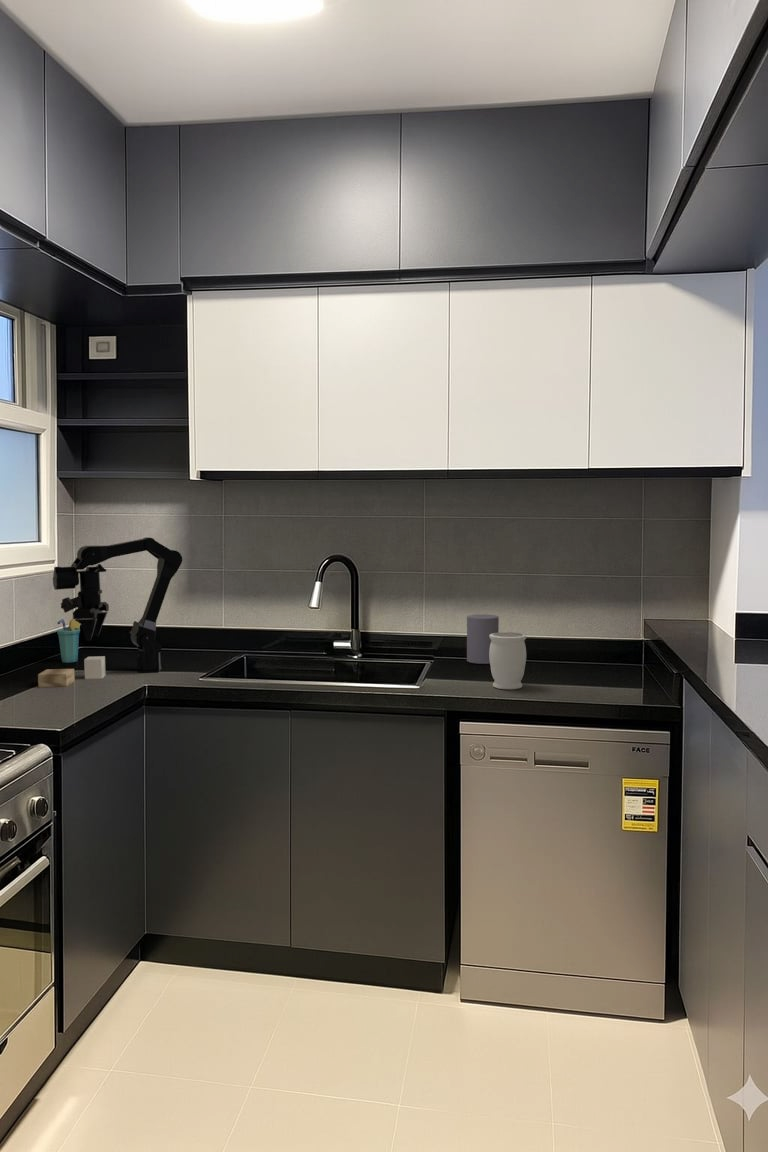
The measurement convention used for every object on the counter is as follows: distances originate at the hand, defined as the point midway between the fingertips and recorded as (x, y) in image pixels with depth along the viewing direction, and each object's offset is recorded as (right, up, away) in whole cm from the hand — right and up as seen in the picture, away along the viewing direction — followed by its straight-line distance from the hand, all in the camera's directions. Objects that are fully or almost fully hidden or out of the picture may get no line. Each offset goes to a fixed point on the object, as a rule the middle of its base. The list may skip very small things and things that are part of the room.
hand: (92, 638), depth 267 cm
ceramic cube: (+1, -12, +1) cm, 12 cm away
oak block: (-8, -13, -9) cm, 18 cm away
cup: (-17, -10, +27) cm, 33 cm away
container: (+121, -9, +21) cm, 123 cm away
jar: (+124, -13, -18) cm, 126 cm away
